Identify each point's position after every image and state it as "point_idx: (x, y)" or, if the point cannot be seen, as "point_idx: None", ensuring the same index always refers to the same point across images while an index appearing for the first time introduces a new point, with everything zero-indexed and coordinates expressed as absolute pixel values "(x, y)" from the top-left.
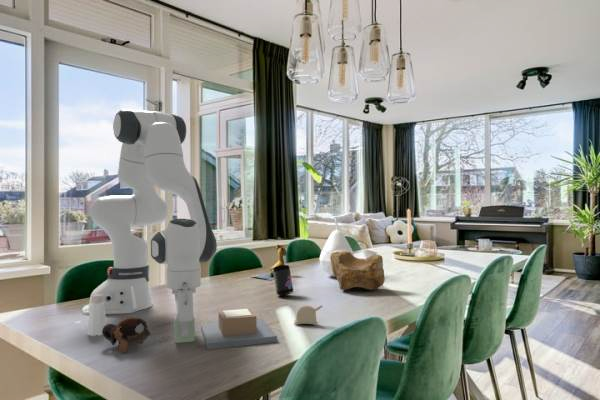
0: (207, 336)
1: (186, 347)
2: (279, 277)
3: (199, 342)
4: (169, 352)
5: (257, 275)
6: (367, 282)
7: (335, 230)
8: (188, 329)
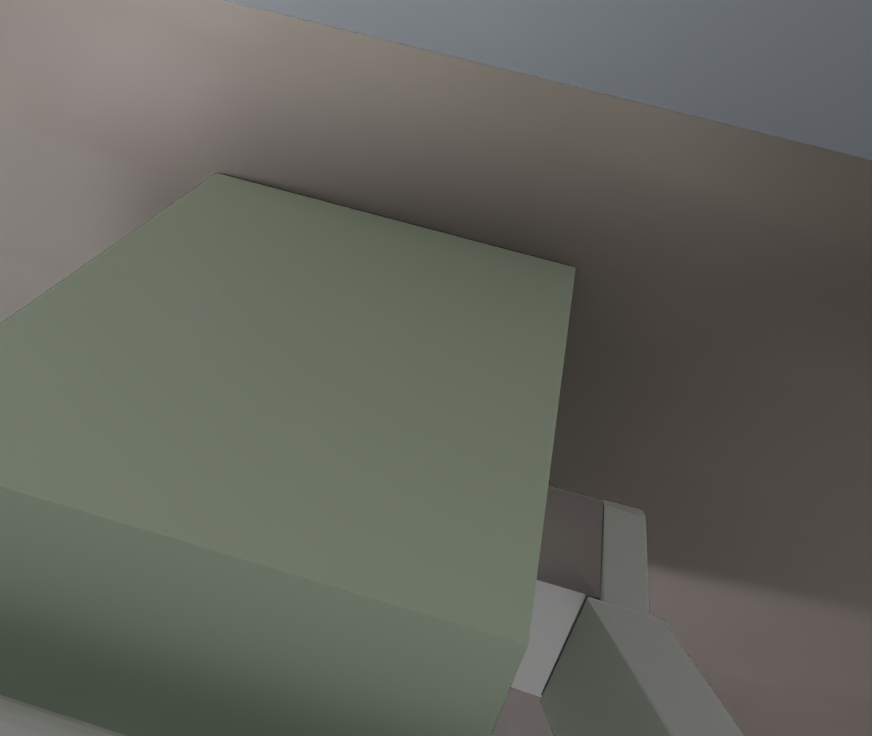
0: (862, 77)
1: (805, 480)
2: None
3: (699, 209)
4: (831, 693)
5: None
6: None
7: None
8: (648, 598)
